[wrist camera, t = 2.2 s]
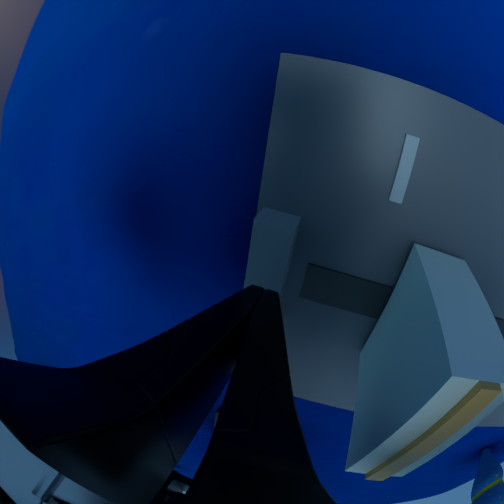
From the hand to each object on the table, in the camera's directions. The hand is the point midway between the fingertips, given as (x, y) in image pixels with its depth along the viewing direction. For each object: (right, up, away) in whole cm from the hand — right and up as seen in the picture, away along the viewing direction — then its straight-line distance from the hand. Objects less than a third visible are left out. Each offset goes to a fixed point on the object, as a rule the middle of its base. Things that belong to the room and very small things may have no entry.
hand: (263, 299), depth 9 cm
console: (+11, -1, +1) cm, 12 cm away
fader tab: (+5, -1, 0) cm, 5 cm away
